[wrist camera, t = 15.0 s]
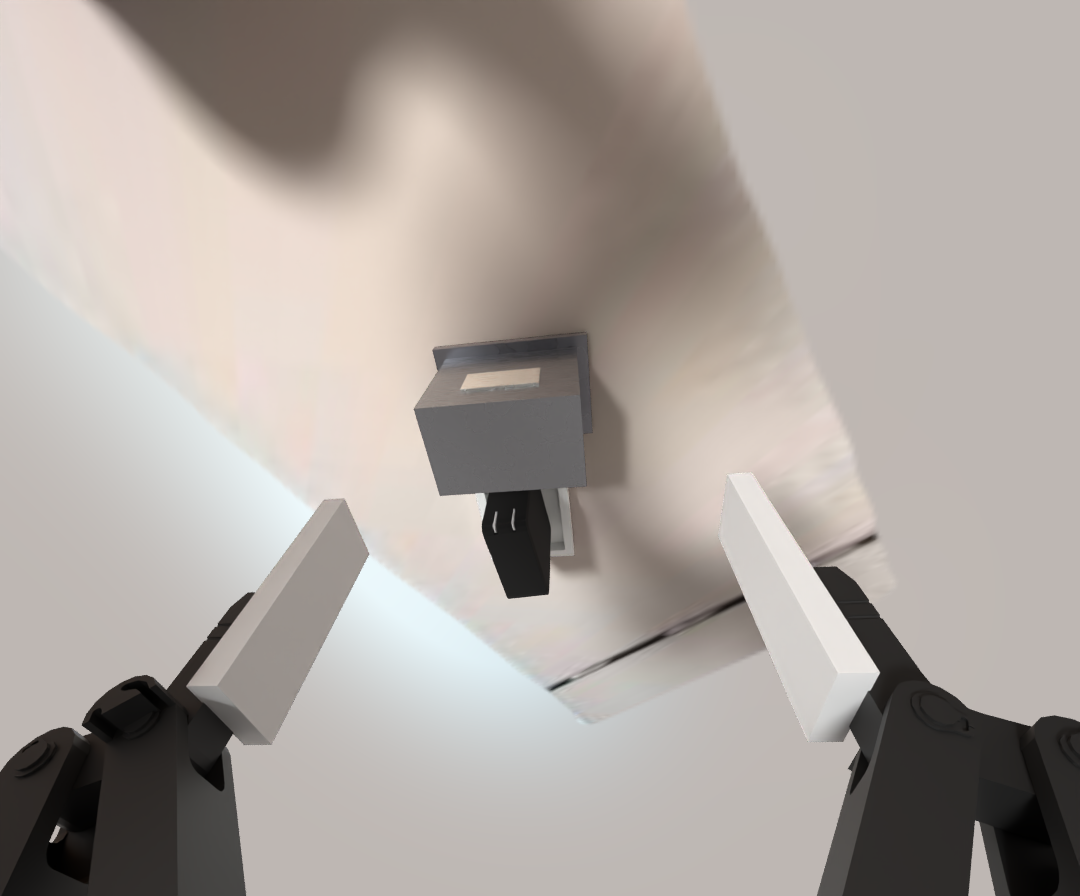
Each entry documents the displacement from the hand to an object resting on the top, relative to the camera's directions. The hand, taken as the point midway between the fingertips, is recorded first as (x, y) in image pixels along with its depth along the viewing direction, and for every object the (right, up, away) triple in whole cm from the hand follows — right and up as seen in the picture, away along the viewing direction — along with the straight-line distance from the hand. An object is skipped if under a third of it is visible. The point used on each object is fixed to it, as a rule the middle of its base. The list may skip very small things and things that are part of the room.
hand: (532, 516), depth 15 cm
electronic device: (-1, -3, +33) cm, 33 cm away
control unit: (-2, +8, +27) cm, 28 cm away
